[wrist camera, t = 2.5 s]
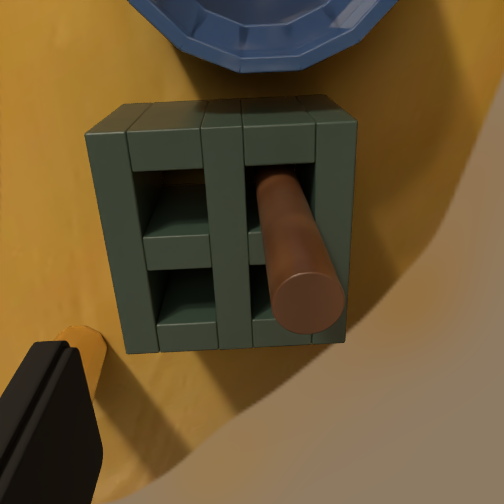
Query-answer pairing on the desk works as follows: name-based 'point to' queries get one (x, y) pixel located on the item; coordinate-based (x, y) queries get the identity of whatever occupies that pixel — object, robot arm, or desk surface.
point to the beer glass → (87, 352)
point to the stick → (295, 255)
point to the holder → (214, 214)
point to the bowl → (263, 29)
